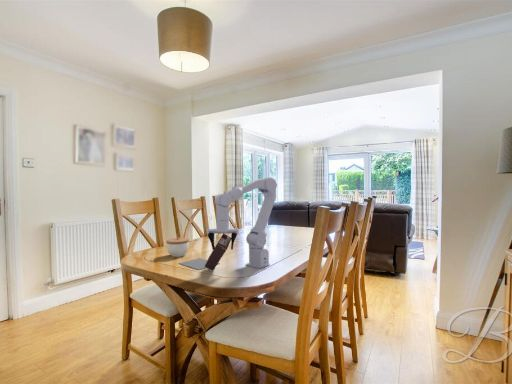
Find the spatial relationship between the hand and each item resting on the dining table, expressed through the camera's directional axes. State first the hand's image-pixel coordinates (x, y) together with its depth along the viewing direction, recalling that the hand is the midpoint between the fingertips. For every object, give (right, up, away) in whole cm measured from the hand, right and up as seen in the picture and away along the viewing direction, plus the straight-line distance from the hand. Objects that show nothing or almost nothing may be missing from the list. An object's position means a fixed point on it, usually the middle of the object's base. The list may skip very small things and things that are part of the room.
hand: (222, 249), depth 124 cm
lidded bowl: (-30, -10, +31) cm, 44 cm away
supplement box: (-6, -8, +3) cm, 10 cm away
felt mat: (-14, -10, +13) cm, 21 cm away
